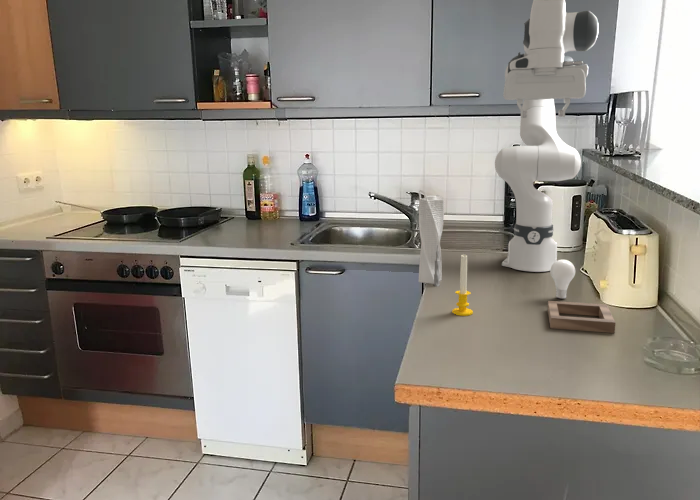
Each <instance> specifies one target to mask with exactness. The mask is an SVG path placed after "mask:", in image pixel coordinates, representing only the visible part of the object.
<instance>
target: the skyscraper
mask: <svg viewBox="0 0 700 500" xmlns="http://www.w3.org/2000/svg"><path fill="white" fill-rule="evenodd" d="M421 193H422V194H423V195H424V197H423V198H422V196H421ZM418 198H419V202H418V227H419V228H418V229H419V237H420V242H421V246H420V253H419V265H418V283H424V284H429V285H433V286H434V287H440V282H441V281H442V280H443V279H442V278H443V276H442V272H443V271H442V270H443V269H442V265H443V264H442V263H443V262H442V251H441V250H442V249H441V240H442V239H441V238H442V234H443V228H444V220H445V219H444V216H445V215H444V214H445V199H444V197H443V196H441V195H438V194H437V195H427V194H426V192H425V191H423V190H419V191H418Z"/></svg>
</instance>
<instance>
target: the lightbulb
mask: <svg viewBox="0 0 700 500" xmlns="http://www.w3.org/2000/svg"><path fill="white" fill-rule="evenodd" d="M549 272H550V276H551V278H552V280H553V281H554V284H555V285H554V287H555V288H556V289H555V290H556V291H555V292H556V294H555V297H556V298H557V299H558V300H564V299H566V298H567V291H568V288H569V285H570V283H571V281H572V280H573V279H574V278H575V276H576V268H575V266H574V263H573V262H571V261H569V260H568V259H558V260H557V261H556V262H554V263H553V264H552V266H551V269H550V271H549Z"/></svg>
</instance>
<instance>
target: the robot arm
mask: <svg viewBox="0 0 700 500" xmlns="http://www.w3.org/2000/svg"><path fill="white" fill-rule="evenodd" d="M530 10H531V11H530V16H529V18H528V19H527V20H526V21H524V23H523V24H524V35H523V40H522V44H523V49H524V53H521V52H518V54H517V55H516V56H514V57H512V58H511V59H510V60H509V61H508V63H507V66H506V68H505V71H504V79H505V81H504V87H503V95H502V96H503V99H505V101H506V100H507V101H510V100H511V101H515V100H516V105H517V107H518V109H519V111H520V126H519V127H520V128H519V135H520V139H521V141H523V143H524V144H525V145H514V146H508V147H504V148H503V147H502V148H501V149H500V150H499V151H498V153H497V154H496V156H495V160H494V169H495V171H496V174H497V175H498V176H499V178H500V179H502V180H503V181H505V182H506V183H507V185H508V186H509V188H510V189H511V190H512V193H513V195H514V198H515V205H516V206H515V208H516V209H515V211H516V215H515V216H516V218H515V219H516V220H515V223H514V226H513V227H514V228H513V235H514V236H513V237H512V238H511V239H510V240H509V242H508V244H507V245H508V246H507V250H508V252H507V257H506V258H505V259H504V260H503V261H502V262H501V266H503V267H507V268H512V269H513V270H517V271H523V272H535V273H540V272H550V269H551V266H552V264H553V263H554V262H556V261H558V260H557V257H558V242H556V241H555V240H554V238H553V236H554V225H553V214H554V201H553V199H552V198H551V197H550V196H549V195H548V194H546V193H545V192H542V191H540V190H538V189H537V188H536V187H535V186H534V182H562V181H567V180H572V179H574V178H575V177H576V176H577V175H578V173H579V172H580V171H581V167H582V158H581V155H580V153H579V151H578V150H577V149H576V148H575V147H572V146H571V145H568V144H567V143H566V142H564V141H563V140H562V139H561V137H560V136H559V134H558V132H557V123H556V107H555V100H562V99H563V104H564V106H563V107H562V109H559V110H558V112H557V113H558V114H557V115H558V118H565V116H566V110H567V108H569V106H570V104H571V99H582V98H584V97H585V95H586V93H587V91H586V90H587V88H586V86H587V85H586V84H587V83H586V78H587V77H588V74H589V66H588V64H587V63H585V62H583V61H582V60H576V61H574V59H573V58H572V56H569V55H565V53H568V52H587V51H588V50H590V49H591V48H592V47H593V46H594V45H596V41H597V38H598V35H599V21H598V18H597V16H596V15H595V14H594V13H593V12H591V10H580V11H576V12H567V11H566V0H532V4H531V9H530Z"/></svg>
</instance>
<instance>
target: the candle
mask: <svg viewBox="0 0 700 500" xmlns="http://www.w3.org/2000/svg"><path fill="white" fill-rule="evenodd" d="M459 269H460V273H459V275H460V276H459V279H460V280H459V290H456V291H455V294H456V295H457V296H458V302H456V306H457V307H454V308H452V311H451V312H452V314H453V313H454V315H455V314H456V315H455V316H460V317H461V316H462V317H468V316H471V315H473V314H474V311H473V310H472V309H471V308H468V307H469V306H470V303H469V302H468V296H469V295H471V294H472V293H471V291H468V290H467V285H468V284H467V283H468V282H467V281H468V255H467V254H465V253H463V254H461V255H460V268H459Z"/></svg>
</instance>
